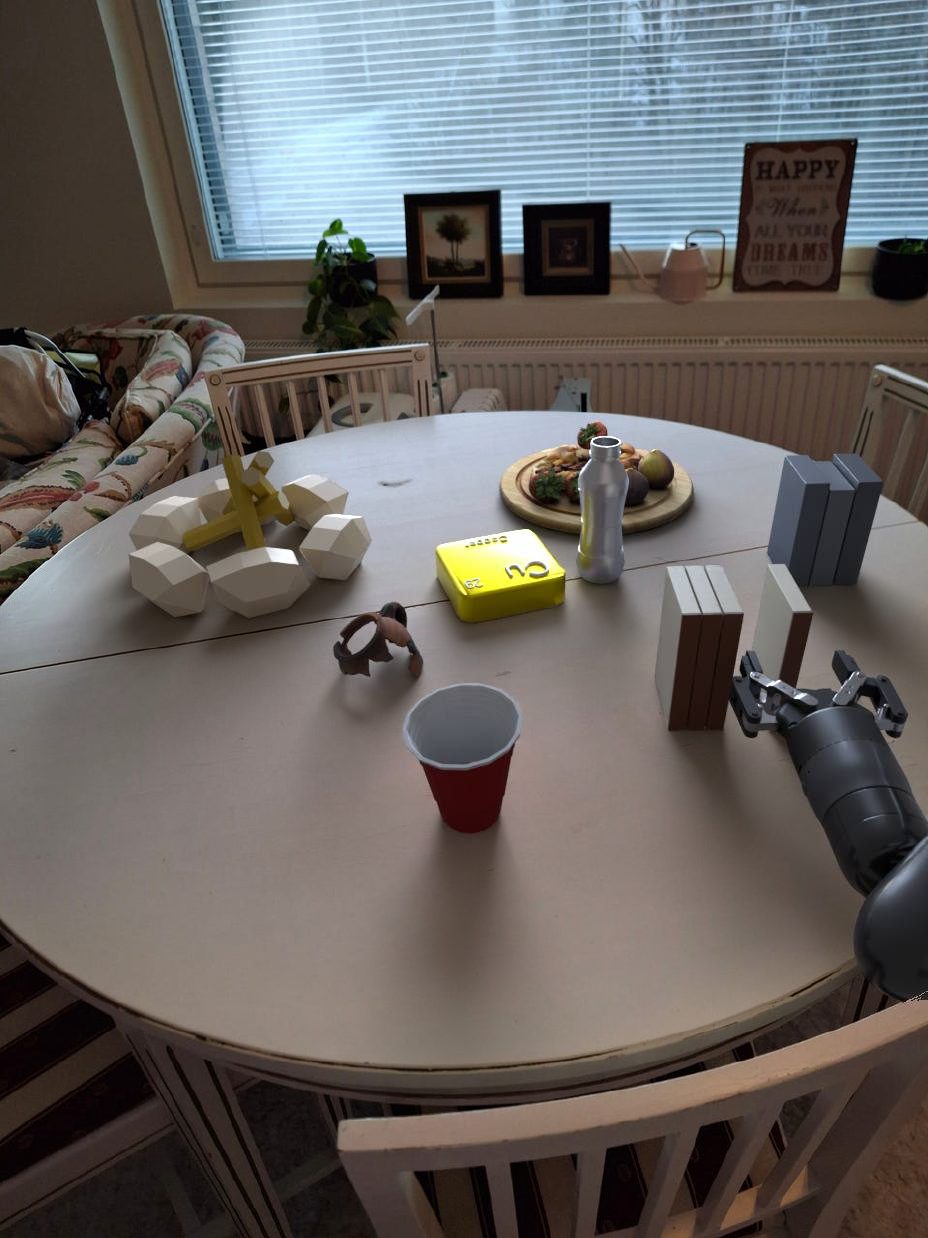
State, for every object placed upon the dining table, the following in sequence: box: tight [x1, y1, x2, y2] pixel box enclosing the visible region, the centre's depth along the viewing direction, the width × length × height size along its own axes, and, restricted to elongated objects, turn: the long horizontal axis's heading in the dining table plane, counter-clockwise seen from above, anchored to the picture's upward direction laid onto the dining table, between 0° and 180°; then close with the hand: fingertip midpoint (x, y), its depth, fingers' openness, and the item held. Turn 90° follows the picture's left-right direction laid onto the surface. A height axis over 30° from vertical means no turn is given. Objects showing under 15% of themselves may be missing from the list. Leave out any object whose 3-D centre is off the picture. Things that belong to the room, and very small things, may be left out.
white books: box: [654, 564, 745, 732], centre depth 85 cm, size 6×9×15 cm, turn 178°
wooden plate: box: [498, 421, 695, 535], centre depth 132 cm, size 32×32×8 cm
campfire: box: [128, 450, 373, 619], centre depth 116 cm, size 35×34×17 cm
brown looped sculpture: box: [332, 601, 424, 679], centre depth 97 cm, size 12×10×8 cm
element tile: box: [434, 529, 567, 624], centre depth 110 cm, size 15×15×5 cm
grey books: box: [766, 452, 884, 587], centre depth 107 cm, size 9×9×15 cm
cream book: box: [750, 563, 815, 710], centre depth 85 cm, size 2×9×15 cm, turn 178°
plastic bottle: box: [575, 436, 629, 584], centre depth 107 cm, size 6×7×20 cm
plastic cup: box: [401, 682, 524, 835], centre depth 74 cm, size 11×11×12 cm
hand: (792, 657), depth 79 cm, fingers open, 8 cm apart
